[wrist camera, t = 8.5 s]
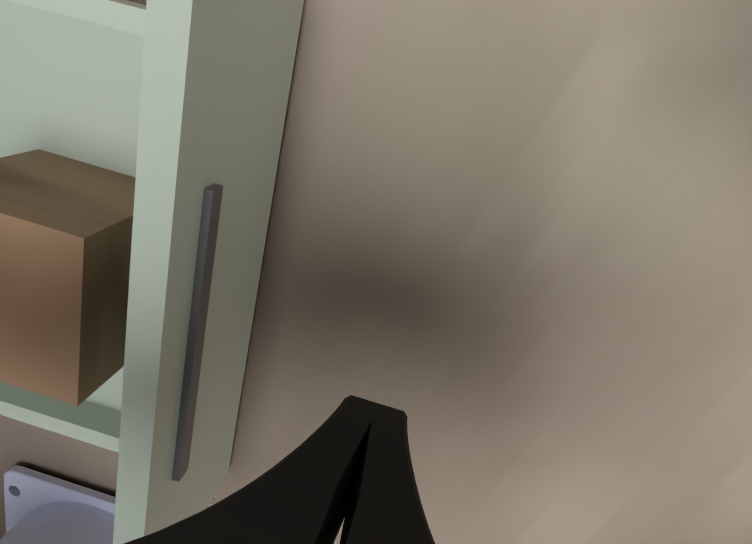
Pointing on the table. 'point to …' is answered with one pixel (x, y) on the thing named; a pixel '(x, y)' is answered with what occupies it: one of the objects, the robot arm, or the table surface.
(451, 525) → the table surface
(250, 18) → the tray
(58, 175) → the walnut block
